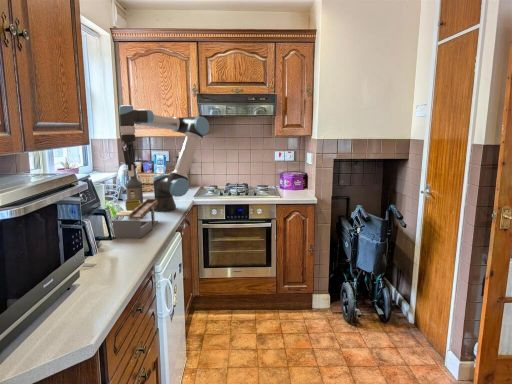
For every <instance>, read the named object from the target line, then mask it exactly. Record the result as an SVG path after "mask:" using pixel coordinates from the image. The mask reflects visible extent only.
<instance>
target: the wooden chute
mask: <svg viewBox="0 0 512 384" xmlns="http://www.w3.org/2000/svg"><path fill="white" fill-rule="evenodd" d="M157 204H158V202H157V200H156V199H155V198H146V200H143V203H142V204H141V205H139V206H138V207H137V208H136V209H135V210H133V211H126V210H119V211H118V212H117V213H116V214H115V216H116V217H129V216H130V217H129V219H136V218H139V219H144V218H145V217H146V216H147V215H148V214H149V213H151V208H154V209H155V208H156V205H157Z"/></svg>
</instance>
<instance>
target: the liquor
mask: <svg viewBox="0 0 512 384" xmlns="http://www.w3.org/2000/svg"><path fill="white" fill-rule="evenodd" d="M133 168H134V176H129V180H128V181H127V183H126V184H125V191H126V193H125V194H126V201H135V200H140V205H141V204H142V203H143V202H144V196H143V195H144V194H143V184H142V181H140V180H139V179H138V178H137V172H136V168H137V167H136V163H135V164H133Z"/></svg>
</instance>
